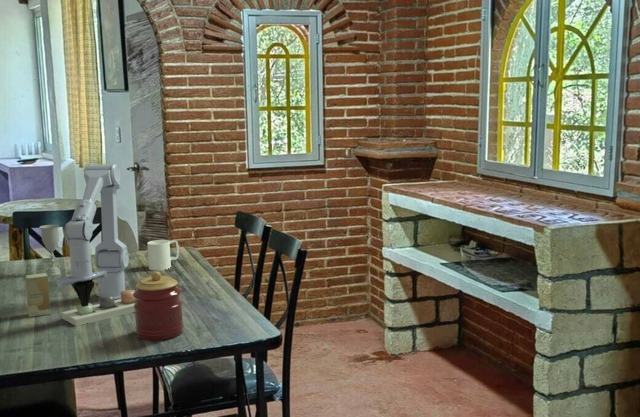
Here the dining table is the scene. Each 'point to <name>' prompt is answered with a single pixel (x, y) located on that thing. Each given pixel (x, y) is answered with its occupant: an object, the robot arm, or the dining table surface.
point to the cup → (160, 254)
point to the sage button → (84, 309)
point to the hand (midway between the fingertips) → (84, 305)
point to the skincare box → (37, 294)
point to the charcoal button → (106, 301)
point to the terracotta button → (127, 296)
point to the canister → (158, 308)
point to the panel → (98, 313)
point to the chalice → (51, 244)
